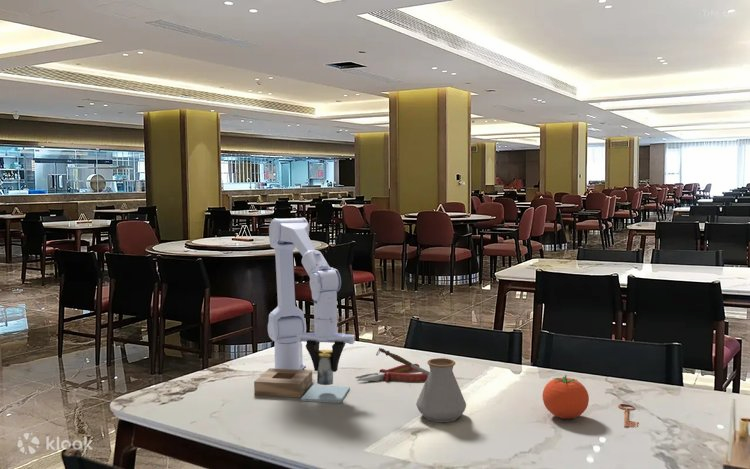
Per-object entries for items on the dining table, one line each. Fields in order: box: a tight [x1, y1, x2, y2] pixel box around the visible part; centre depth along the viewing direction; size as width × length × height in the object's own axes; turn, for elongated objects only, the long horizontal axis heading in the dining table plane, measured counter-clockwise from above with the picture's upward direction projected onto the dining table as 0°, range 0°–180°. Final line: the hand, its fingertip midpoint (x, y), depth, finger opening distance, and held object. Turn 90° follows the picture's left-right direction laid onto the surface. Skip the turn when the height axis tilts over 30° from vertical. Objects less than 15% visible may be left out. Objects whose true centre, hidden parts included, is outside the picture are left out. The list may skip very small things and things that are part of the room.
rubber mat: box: [300, 384, 351, 404], centre depth 168 cm, size 11×10×1 cm
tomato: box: [541, 374, 590, 420], centre depth 151 cm, size 10×10×10 cm
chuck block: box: [253, 368, 313, 398], centre depth 172 cm, size 12×12×4 cm
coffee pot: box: [375, 347, 467, 423], centre depth 153 cm, size 21×12×15 cm, turn 72°
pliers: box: [355, 363, 428, 383], centre depth 182 cm, size 11×20×3 cm, turn 108°
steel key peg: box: [316, 349, 334, 386], centre depth 167 cm, size 4×4×8 cm
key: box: [618, 403, 640, 429], centre depth 152 cm, size 6×1×15 cm
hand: (325, 370), depth 167 cm, fingers closed on steel key peg, 4 cm apart
